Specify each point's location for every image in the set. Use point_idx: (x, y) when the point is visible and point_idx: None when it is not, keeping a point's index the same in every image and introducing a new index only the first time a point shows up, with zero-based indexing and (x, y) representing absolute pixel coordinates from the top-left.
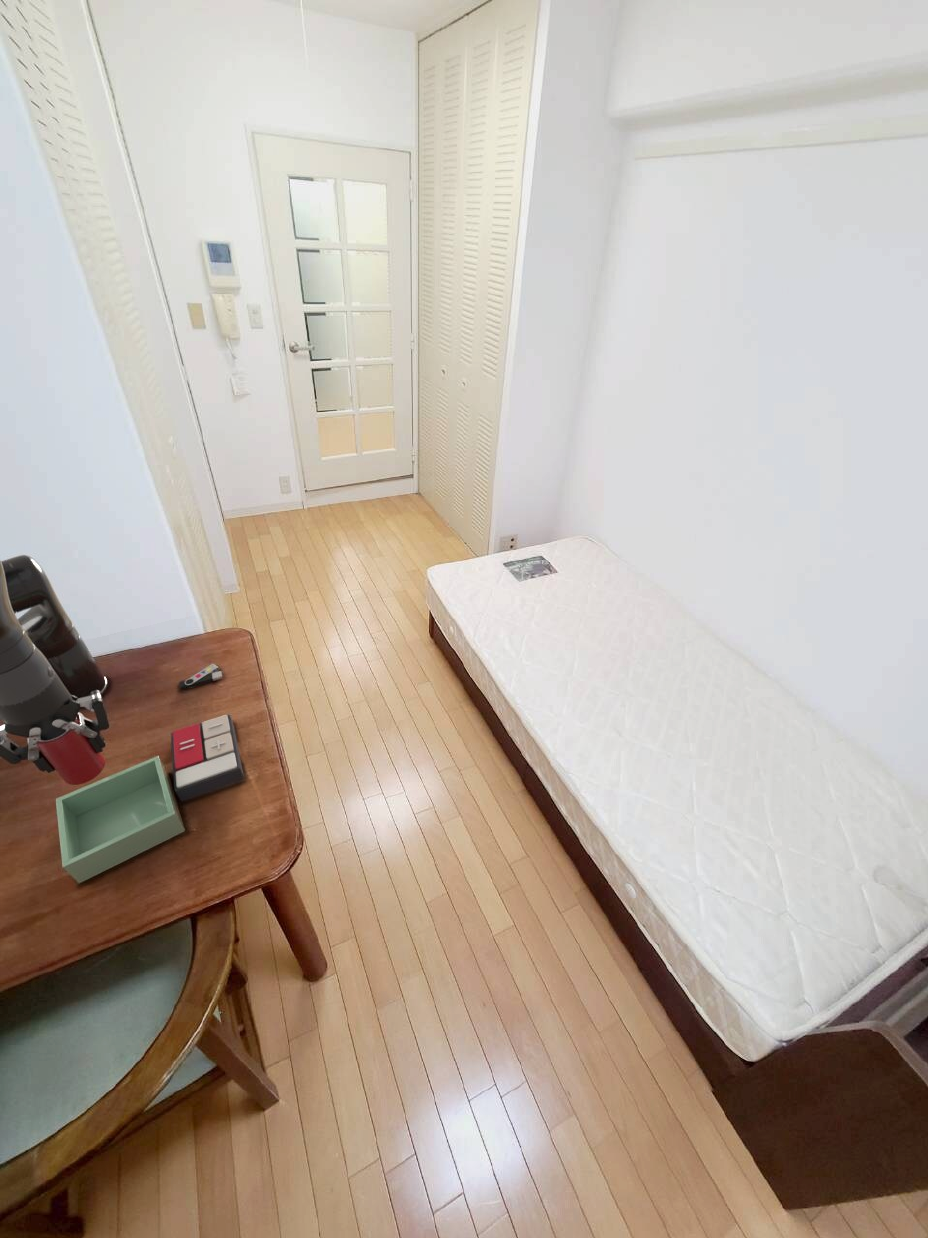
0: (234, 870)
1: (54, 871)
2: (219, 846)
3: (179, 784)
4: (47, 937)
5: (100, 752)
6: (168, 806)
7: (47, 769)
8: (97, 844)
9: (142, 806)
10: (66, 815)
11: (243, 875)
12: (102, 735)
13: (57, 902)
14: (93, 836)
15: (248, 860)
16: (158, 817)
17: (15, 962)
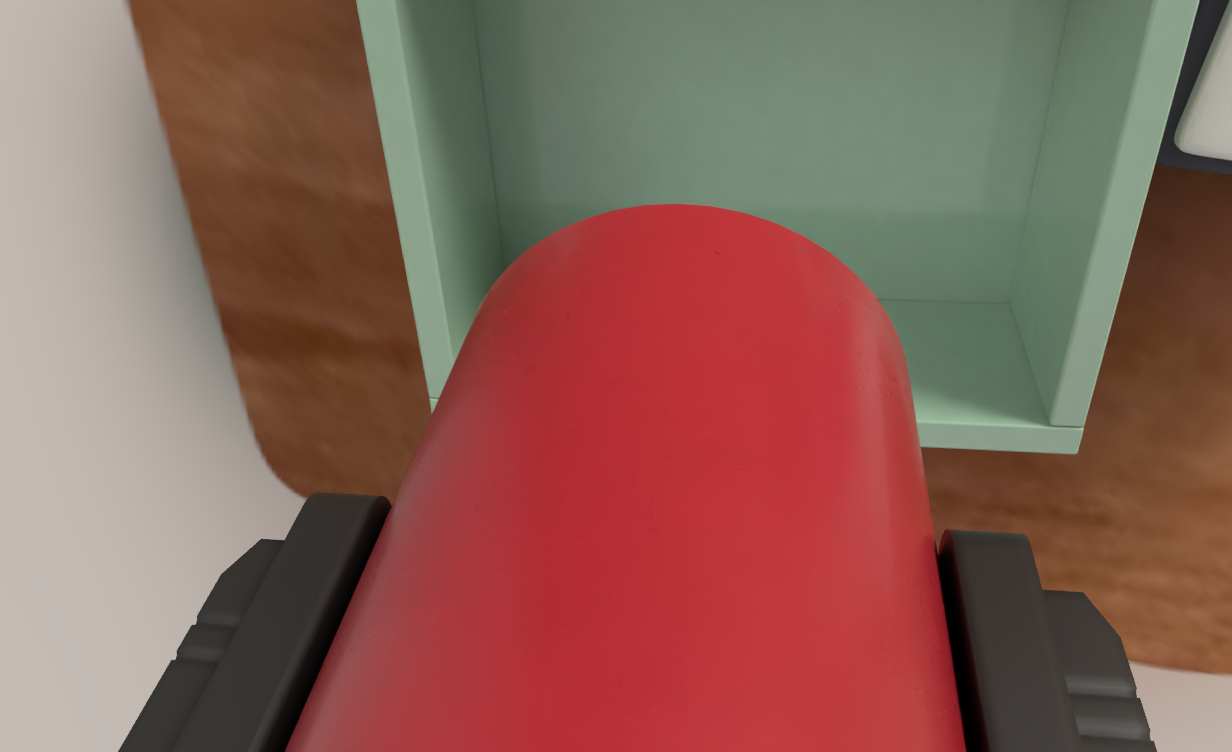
0: (1122, 599)
1: (360, 150)
2: (1132, 475)
3: (1207, 138)
4: (374, 438)
5: (921, 453)
6: (1069, 386)
7: None
8: (577, 138)
9: (875, 3)
10: None
11: (1140, 633)
12: (1140, 700)
13: (394, 321)
14: (557, 66)
15: (1200, 596)
16: (937, 154)
17: (274, 459)
